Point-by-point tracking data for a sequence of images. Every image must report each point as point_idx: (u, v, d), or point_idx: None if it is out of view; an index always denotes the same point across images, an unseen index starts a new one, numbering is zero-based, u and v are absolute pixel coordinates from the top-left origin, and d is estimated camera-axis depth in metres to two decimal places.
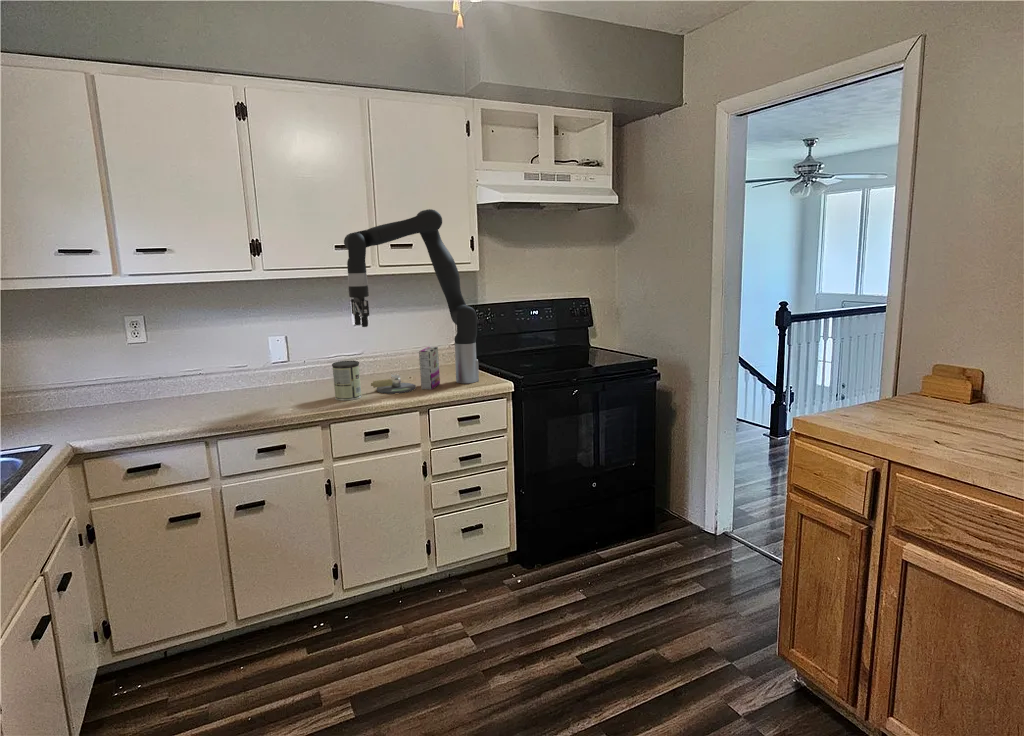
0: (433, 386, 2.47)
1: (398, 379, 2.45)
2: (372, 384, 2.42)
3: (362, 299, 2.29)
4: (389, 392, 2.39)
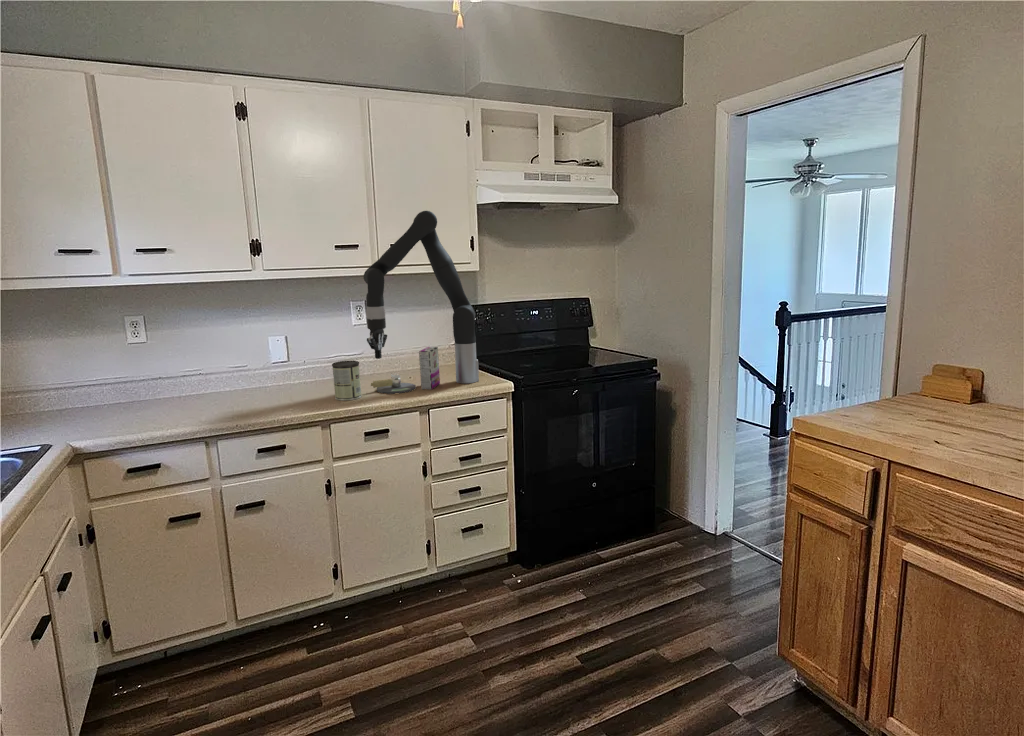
0: (433, 386, 2.47)
1: (398, 379, 2.45)
2: (372, 384, 2.42)
3: None
4: (389, 392, 2.39)
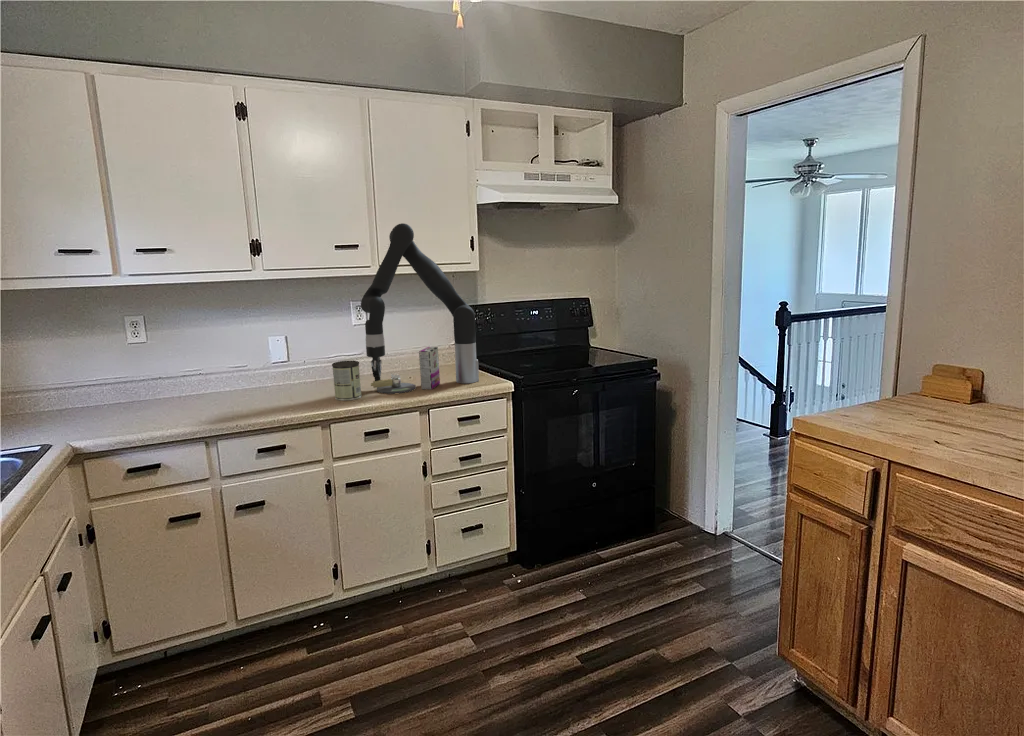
0: (433, 386, 2.47)
1: (398, 379, 2.45)
2: (372, 384, 2.42)
3: None
4: (389, 392, 2.39)
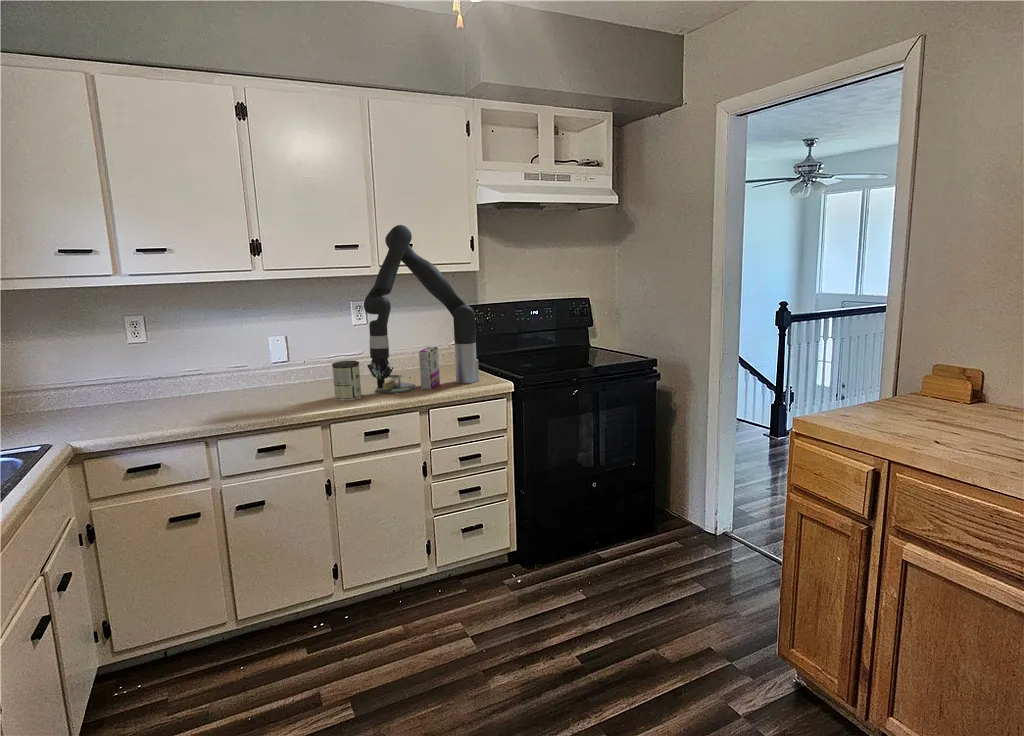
0: (433, 386, 2.47)
1: (400, 378, 2.46)
2: (384, 386, 2.37)
3: None
4: (389, 392, 2.39)
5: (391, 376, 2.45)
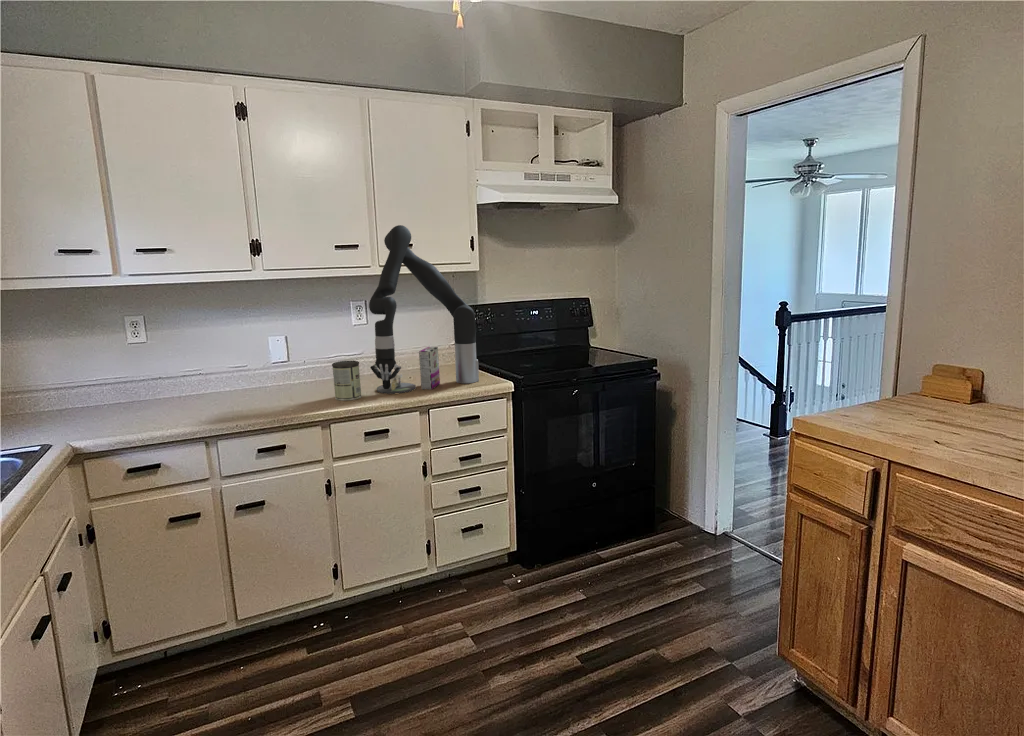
0: (433, 386, 2.47)
1: None
2: (394, 386, 2.37)
3: None
4: (389, 392, 2.39)
5: None
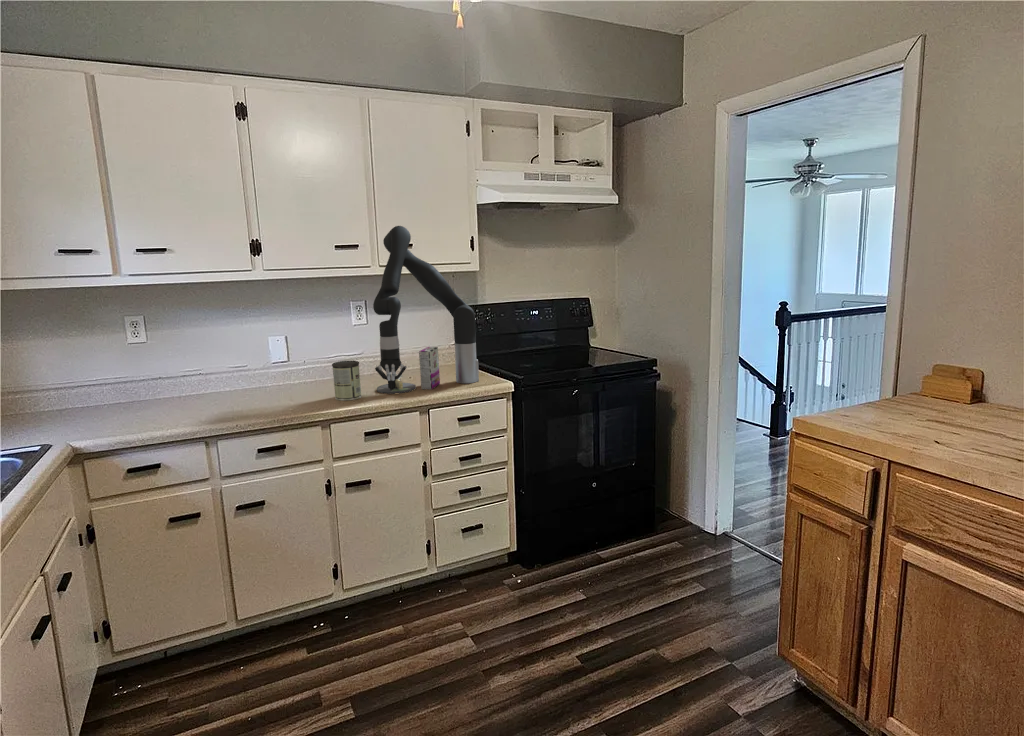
0: (433, 386, 2.47)
1: None
2: None
3: None
4: (389, 392, 2.39)
5: None
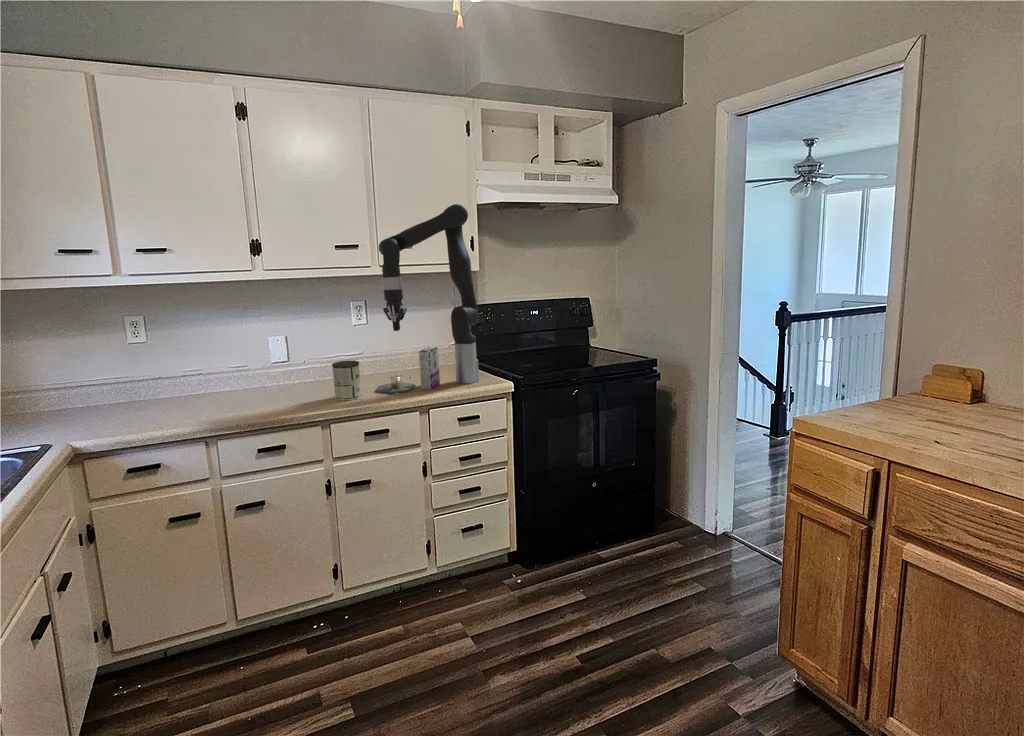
0: (433, 386, 2.47)
1: None
2: None
3: None
4: (389, 392, 2.39)
5: (393, 376, 2.44)
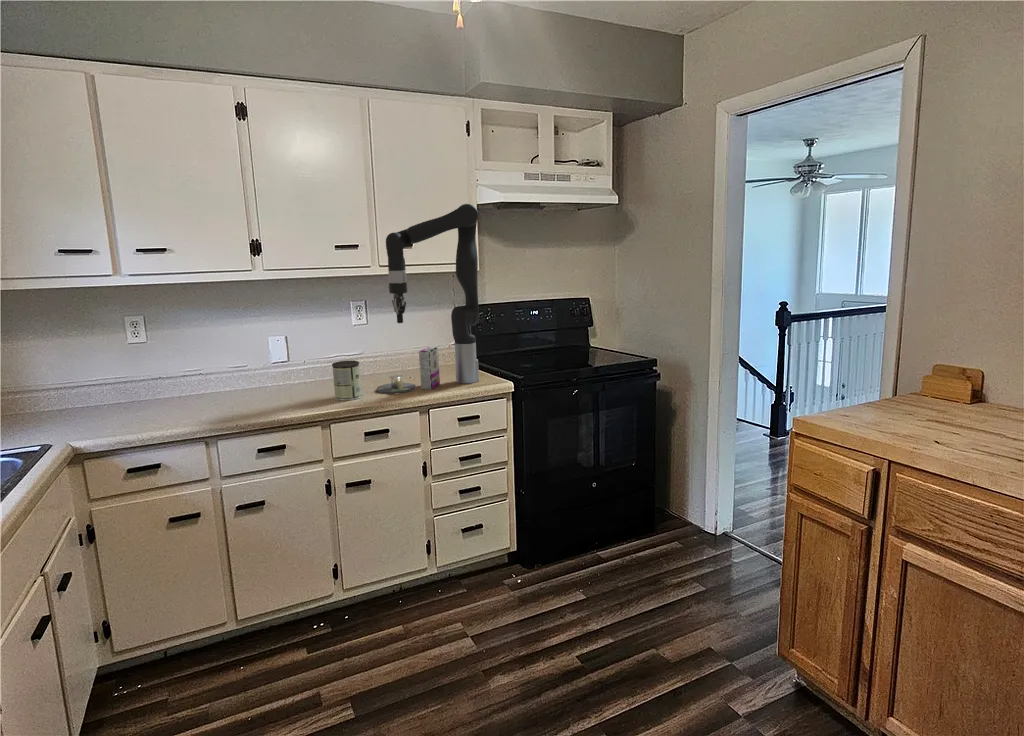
0: (433, 386, 2.47)
1: None
2: None
3: None
4: (389, 392, 2.39)
5: (393, 376, 2.44)
